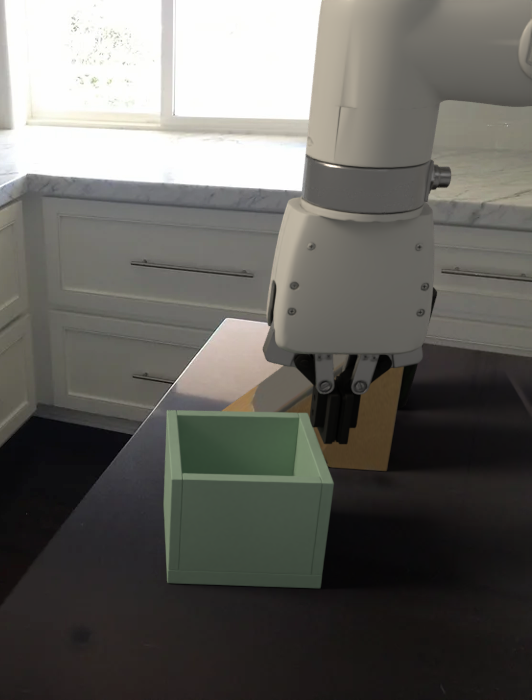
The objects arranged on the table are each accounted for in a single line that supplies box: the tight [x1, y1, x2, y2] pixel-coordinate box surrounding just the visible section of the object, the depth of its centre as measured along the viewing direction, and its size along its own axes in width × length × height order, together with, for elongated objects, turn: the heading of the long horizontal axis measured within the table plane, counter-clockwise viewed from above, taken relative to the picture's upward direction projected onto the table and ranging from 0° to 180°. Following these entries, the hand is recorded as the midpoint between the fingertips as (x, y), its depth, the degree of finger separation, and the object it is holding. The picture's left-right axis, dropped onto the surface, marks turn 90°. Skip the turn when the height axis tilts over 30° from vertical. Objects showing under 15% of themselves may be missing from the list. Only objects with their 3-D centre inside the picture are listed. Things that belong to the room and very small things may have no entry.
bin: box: [163, 409, 335, 589], centre depth 65 cm, size 9×10×11 cm
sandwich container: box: [221, 354, 404, 472], centre depth 78 cm, size 9×15×15 cm, turn 78°
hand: (331, 434), depth 63 cm, fingers closed
